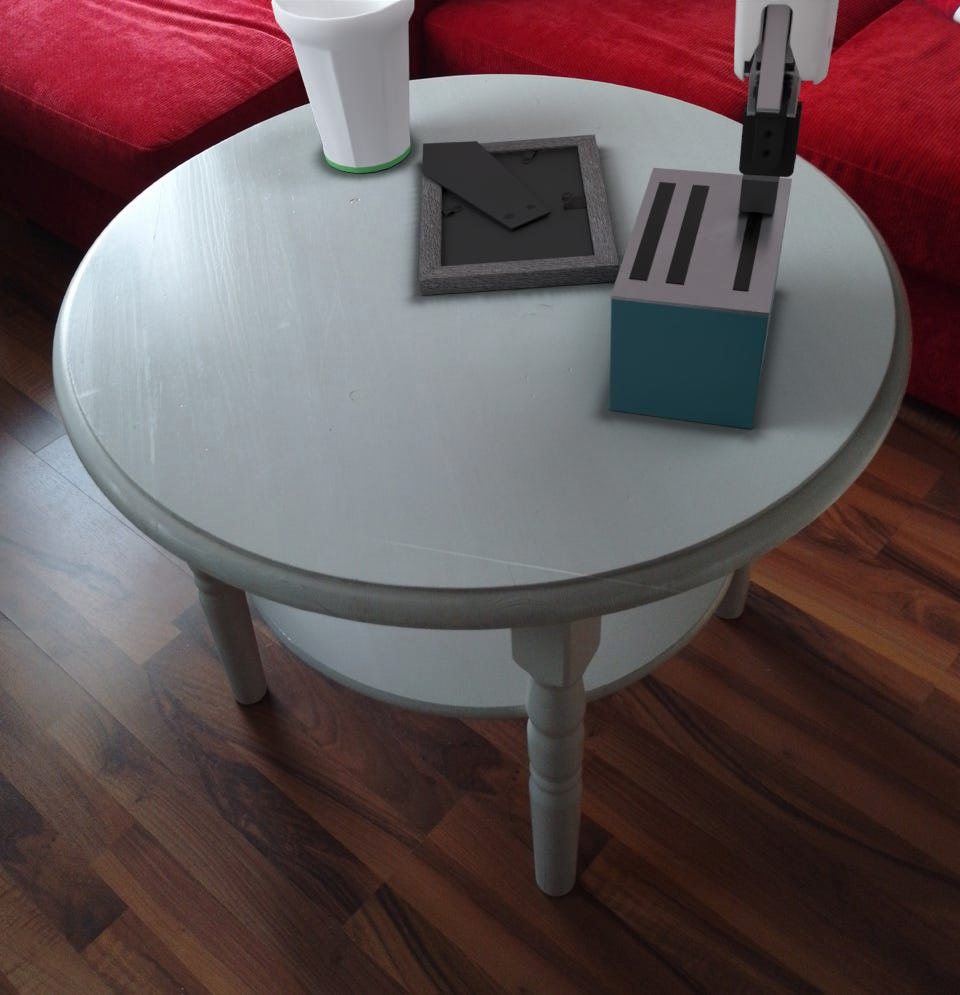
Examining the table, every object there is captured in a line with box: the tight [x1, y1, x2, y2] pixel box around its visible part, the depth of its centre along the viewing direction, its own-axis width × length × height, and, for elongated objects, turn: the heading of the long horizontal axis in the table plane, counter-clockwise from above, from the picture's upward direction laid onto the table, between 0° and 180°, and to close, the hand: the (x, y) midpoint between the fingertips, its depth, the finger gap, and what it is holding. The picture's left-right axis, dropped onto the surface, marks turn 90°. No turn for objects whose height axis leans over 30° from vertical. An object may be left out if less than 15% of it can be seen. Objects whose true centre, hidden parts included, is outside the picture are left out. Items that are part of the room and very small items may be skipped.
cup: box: [271, 0, 415, 174], centre depth 100 cm, size 12×12×15 cm
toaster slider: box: [739, 174, 781, 214], centre depth 75 cm, size 2×2×2 cm
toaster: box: [608, 167, 793, 430], centre depth 78 cm, size 10×16×10 cm, turn 164°
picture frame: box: [418, 134, 620, 296], centre depth 95 cm, size 16×2×21 cm
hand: (766, 168), depth 66 cm, fingers closed
